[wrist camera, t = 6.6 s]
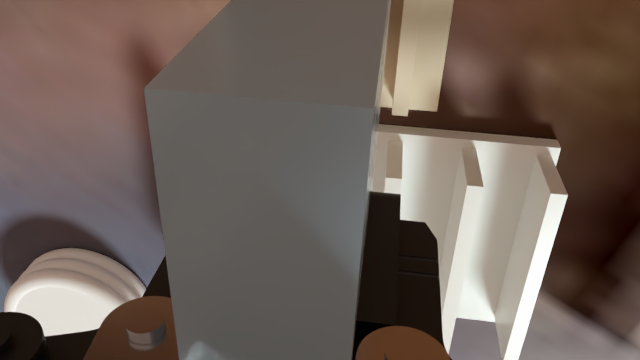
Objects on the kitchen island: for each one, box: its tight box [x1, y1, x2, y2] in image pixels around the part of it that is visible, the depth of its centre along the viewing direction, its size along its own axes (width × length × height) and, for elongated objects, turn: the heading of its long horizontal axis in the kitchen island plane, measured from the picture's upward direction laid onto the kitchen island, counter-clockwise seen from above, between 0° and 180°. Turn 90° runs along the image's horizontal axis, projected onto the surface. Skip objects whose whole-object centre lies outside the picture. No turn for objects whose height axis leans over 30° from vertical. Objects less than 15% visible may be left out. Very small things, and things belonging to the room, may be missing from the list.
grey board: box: [144, 0, 391, 360], centre depth 12 cm, size 10×2×10 cm, turn 178°
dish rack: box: [372, 124, 568, 360], centre depth 35 cm, size 13×22×5 cm, turn 88°
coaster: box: [4, 248, 146, 336], centre depth 43 cm, size 10×10×4 cm
